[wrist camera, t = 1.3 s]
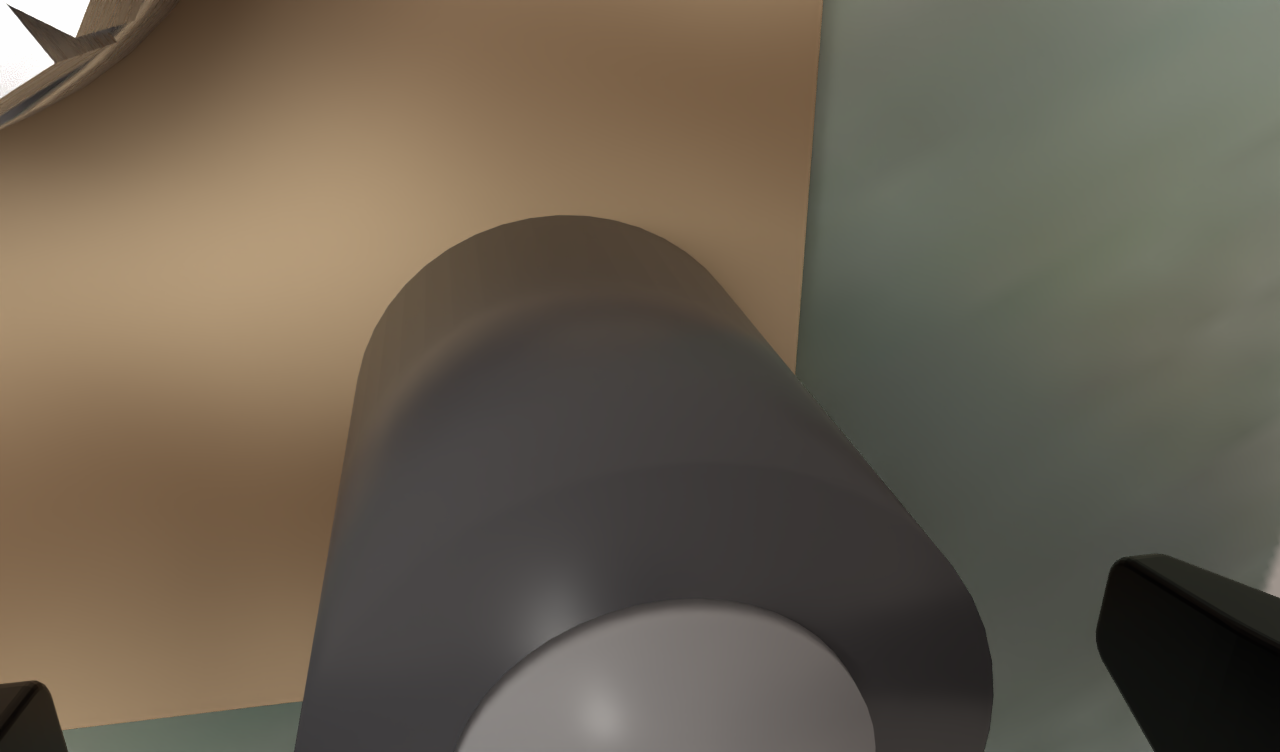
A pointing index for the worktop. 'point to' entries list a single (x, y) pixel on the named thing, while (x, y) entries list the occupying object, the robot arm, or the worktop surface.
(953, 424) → the worktop surface
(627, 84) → the board
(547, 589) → the cap
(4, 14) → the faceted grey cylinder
